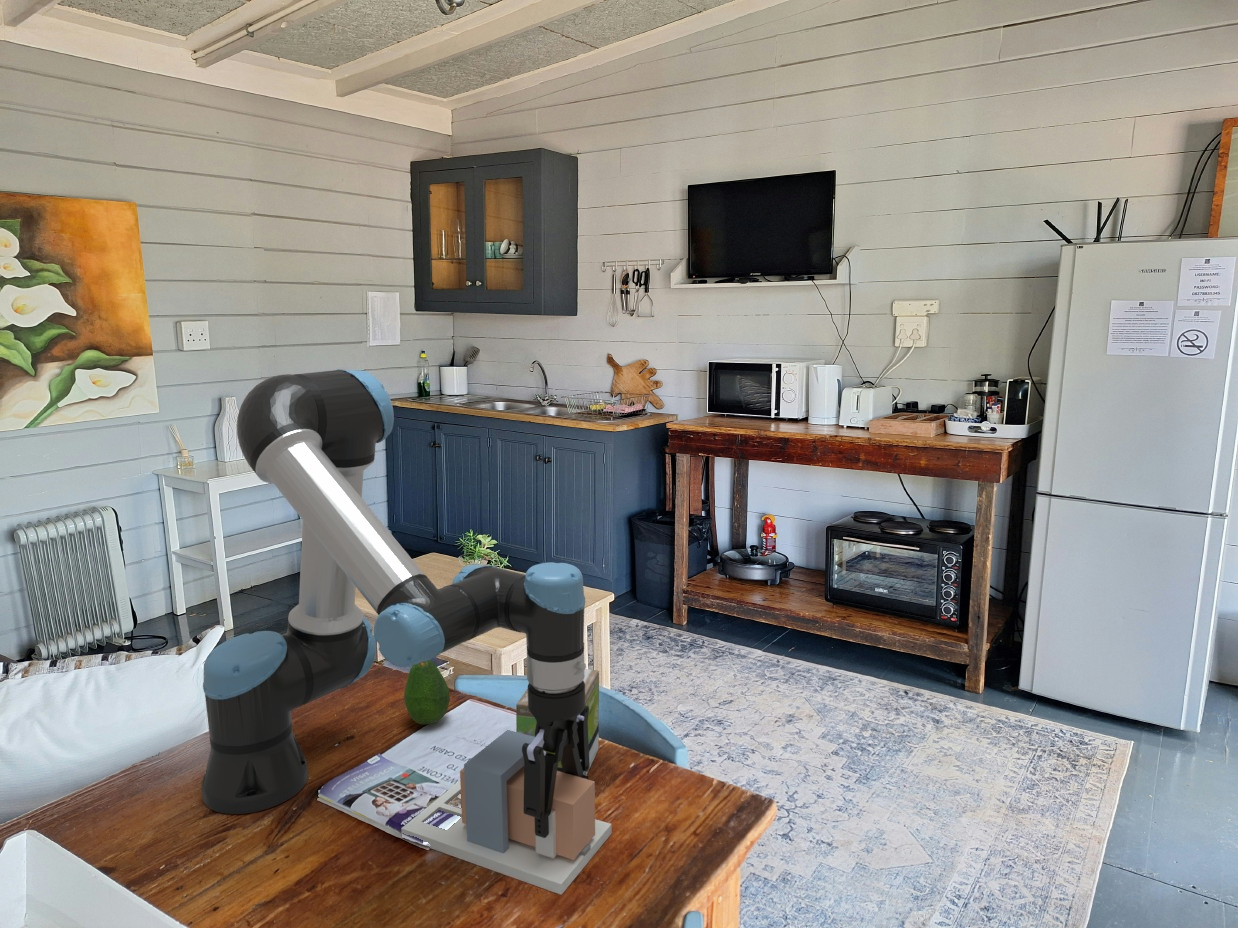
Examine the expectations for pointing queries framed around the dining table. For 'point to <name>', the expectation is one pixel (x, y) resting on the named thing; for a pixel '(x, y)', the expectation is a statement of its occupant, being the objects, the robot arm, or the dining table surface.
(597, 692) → the tea box
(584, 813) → the terracotta clay brick
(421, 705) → the avocado
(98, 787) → the dining table surface
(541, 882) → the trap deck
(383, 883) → the dining table surface
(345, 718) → the dining table surface
